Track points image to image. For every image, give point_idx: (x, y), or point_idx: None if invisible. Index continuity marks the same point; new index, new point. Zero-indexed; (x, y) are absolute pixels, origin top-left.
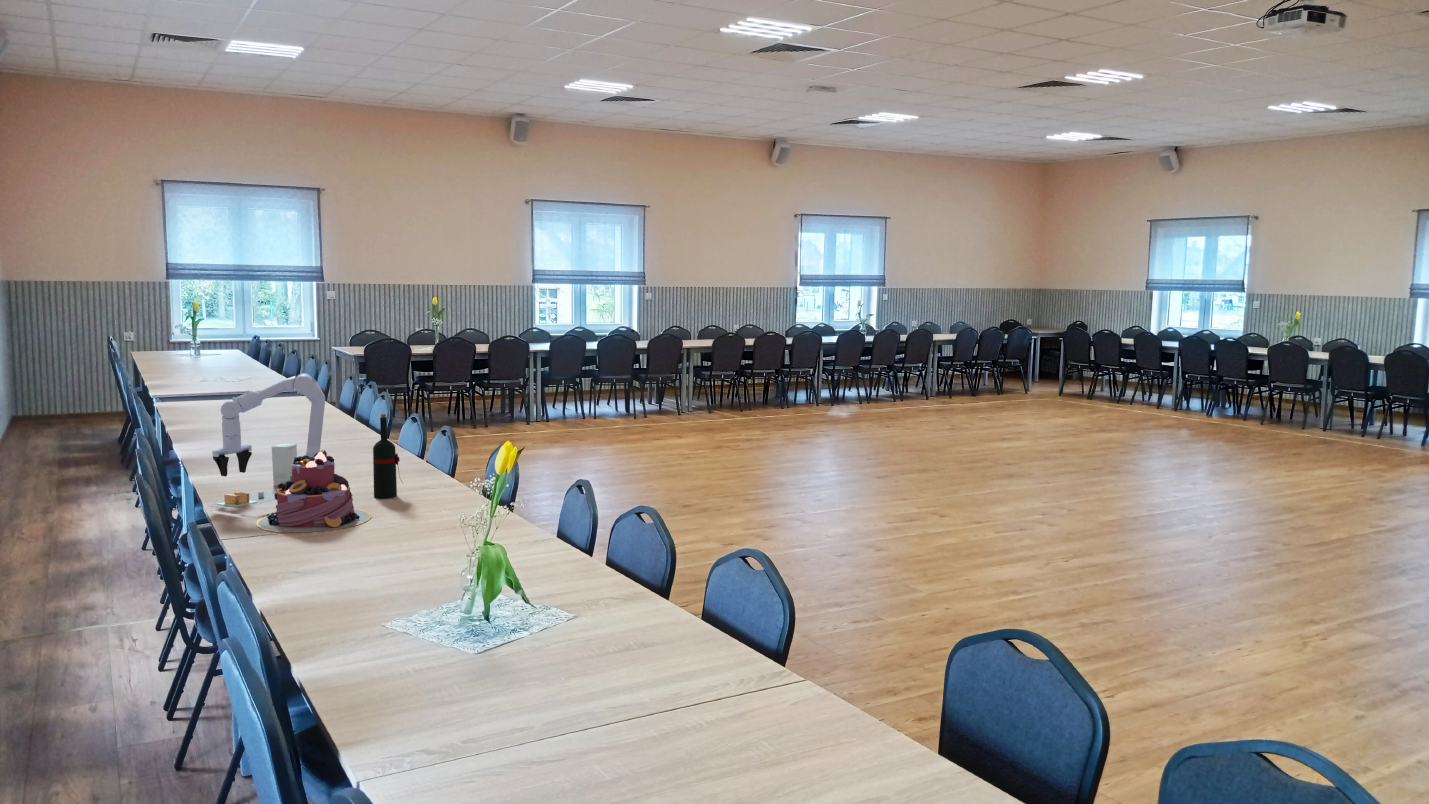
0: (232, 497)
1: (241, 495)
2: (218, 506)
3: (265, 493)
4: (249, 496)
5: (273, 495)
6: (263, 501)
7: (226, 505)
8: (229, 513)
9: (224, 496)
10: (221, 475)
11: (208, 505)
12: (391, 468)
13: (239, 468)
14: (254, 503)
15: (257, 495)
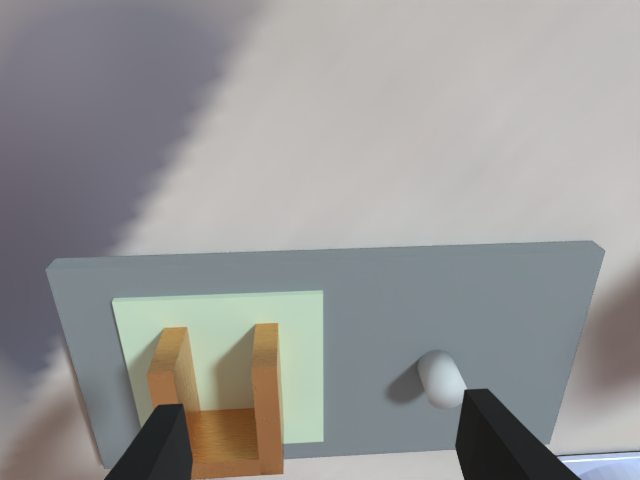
0: None
1: (211, 476)
2: (89, 351)
3: (568, 285)
4: (439, 271)
5: (526, 372)
6: (355, 445)
7: (132, 383)
8: (84, 455)
9: (151, 362)
10: (154, 416)
11: (54, 272)
12: None
13: (483, 429)
14: (287, 447)
15: (489, 292)
